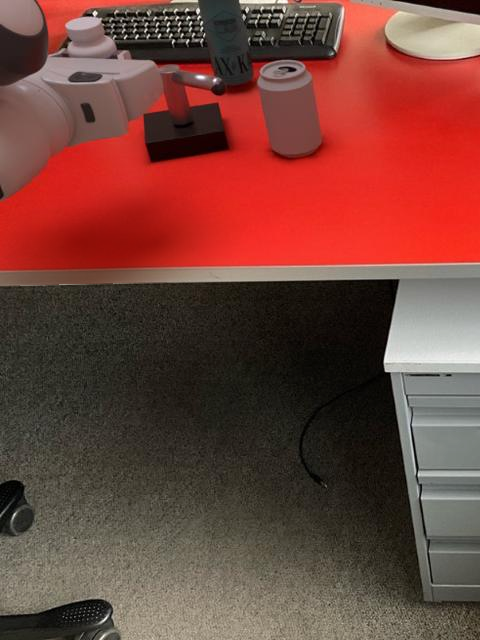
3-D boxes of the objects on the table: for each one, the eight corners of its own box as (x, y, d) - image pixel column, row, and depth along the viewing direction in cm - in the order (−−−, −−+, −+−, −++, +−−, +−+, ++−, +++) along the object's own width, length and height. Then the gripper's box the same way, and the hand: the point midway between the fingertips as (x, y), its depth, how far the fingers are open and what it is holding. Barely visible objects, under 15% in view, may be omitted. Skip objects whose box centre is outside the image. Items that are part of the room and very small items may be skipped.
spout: (228, 136, 126) (215, 83, 121) (167, 123, 130) (152, 70, 125) (241, 127, 128) (229, 74, 123) (181, 114, 132) (167, 62, 127)
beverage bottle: (210, 85, 147) (178, -43, 134) (246, 74, 150) (219, -53, 137) (228, 98, 143) (197, -33, 130) (265, 86, 146) (239, -43, 133)
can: (333, 141, 131) (320, 61, 123) (304, 164, 126) (289, 82, 118) (290, 132, 134) (275, 53, 126) (260, 154, 129) (243, 73, 121)
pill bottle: (93, 93, 112) (66, 14, 105) (137, 91, 112) (113, 12, 105) (81, 113, 108) (52, 32, 101) (126, 111, 108) (100, 30, 101)
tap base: (151, 162, 128) (145, 143, 126) (148, 132, 135) (143, 113, 133) (229, 149, 130) (224, 130, 128) (222, 120, 137) (218, 102, 135)
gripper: (-36, 129, 100) (26, 78, 110) (138, 137, 98) (186, 83, 108) (-61, 74, 95) (7, 26, 106) (121, 81, 94) (172, 31, 104)
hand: (98, 55), depth 107 cm, fingers closed on pill bottle, 5 cm apart
